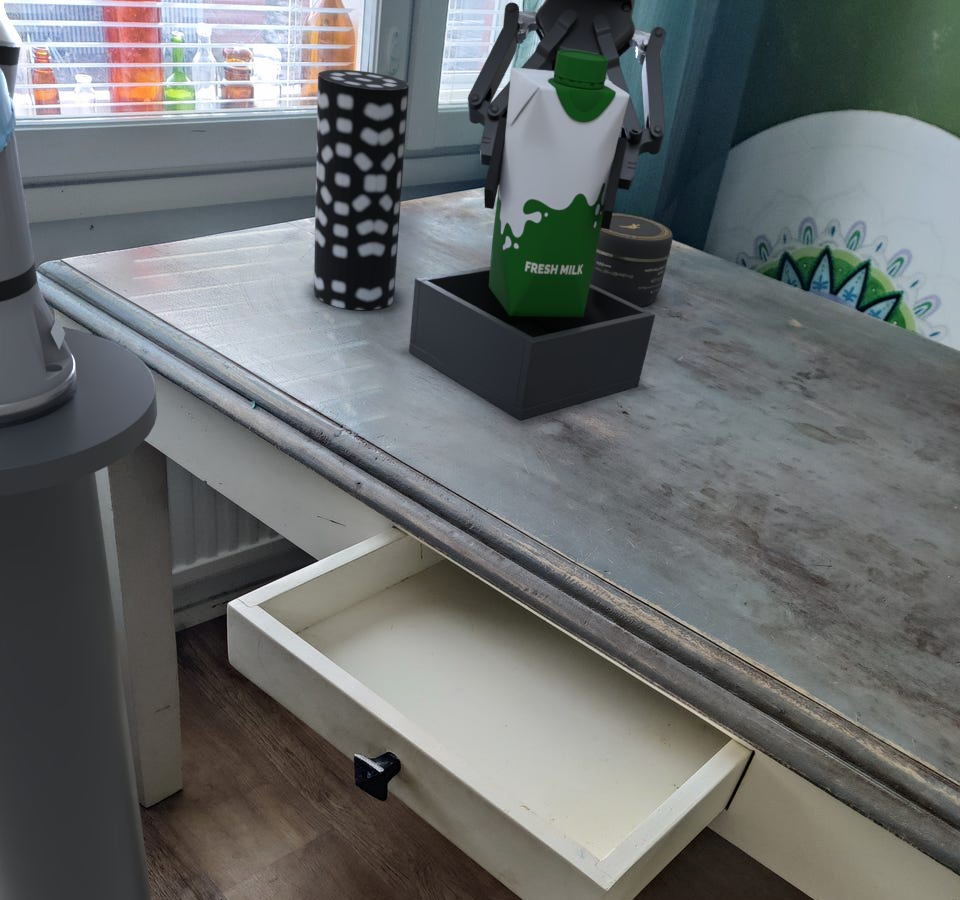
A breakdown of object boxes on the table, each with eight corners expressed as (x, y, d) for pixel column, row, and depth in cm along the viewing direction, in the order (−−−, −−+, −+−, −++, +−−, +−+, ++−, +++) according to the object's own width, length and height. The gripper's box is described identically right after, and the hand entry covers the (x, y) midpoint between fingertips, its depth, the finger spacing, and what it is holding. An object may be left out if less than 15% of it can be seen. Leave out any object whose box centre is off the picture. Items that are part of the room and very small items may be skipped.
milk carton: (502, 320, 85) (538, 56, 73) (476, 282, 92) (504, 34, 79) (596, 322, 87) (646, 66, 75) (564, 285, 94) (605, 44, 82)
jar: (670, 295, 116) (686, 227, 111) (641, 317, 109) (657, 246, 104) (592, 272, 119) (605, 206, 114) (559, 293, 112) (571, 223, 107)
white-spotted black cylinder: (405, 292, 106) (421, 82, 93) (375, 316, 99) (388, 94, 87) (334, 275, 107) (340, 66, 95) (300, 298, 101) (302, 76, 88)
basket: (408, 352, 93) (414, 278, 89) (527, 327, 102) (538, 258, 98) (519, 420, 85) (532, 342, 80) (638, 386, 94) (655, 314, 89)
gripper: (714, 20, 87) (670, 255, 85) (472, -19, 88) (421, 212, 86) (734, -49, 80) (686, 207, 77) (469, -91, 81) (414, 159, 78)
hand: (547, 209), depth 82 cm, fingers closed on milk carton, 9 cm apart
